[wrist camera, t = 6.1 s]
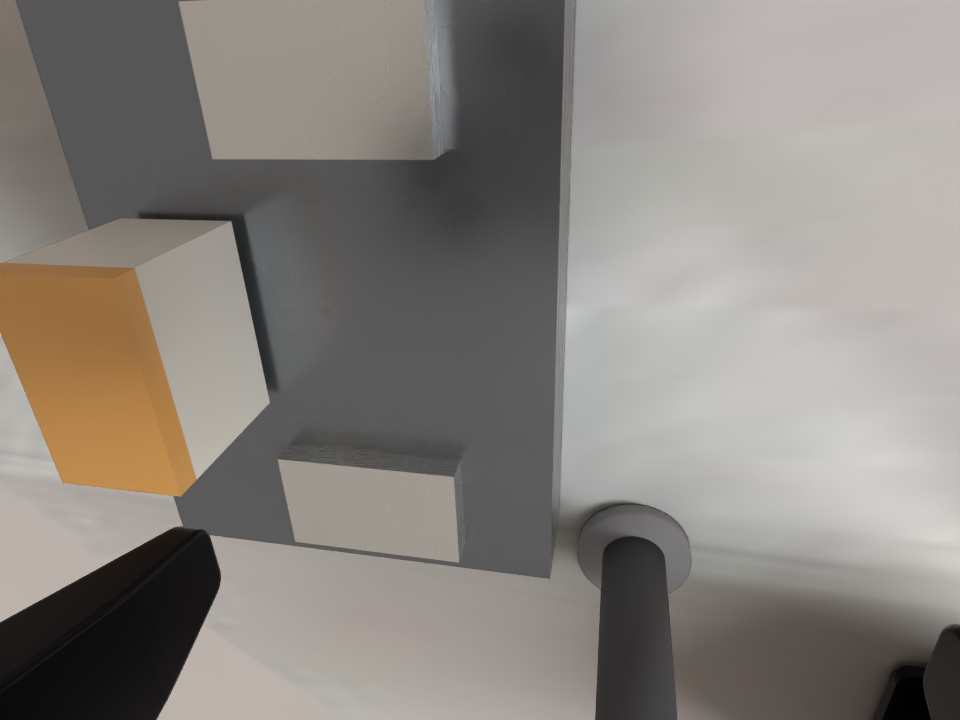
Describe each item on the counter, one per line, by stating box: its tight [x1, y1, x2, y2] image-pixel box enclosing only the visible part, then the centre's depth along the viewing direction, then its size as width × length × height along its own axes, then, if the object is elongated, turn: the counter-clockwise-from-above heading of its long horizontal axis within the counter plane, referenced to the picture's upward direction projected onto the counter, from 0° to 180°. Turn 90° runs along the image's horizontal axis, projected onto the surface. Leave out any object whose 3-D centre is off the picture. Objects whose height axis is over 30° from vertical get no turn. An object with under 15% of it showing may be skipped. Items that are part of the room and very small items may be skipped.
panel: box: [16, 0, 576, 579], centre depth 17 cm, size 16×12×4 cm
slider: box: [0, 218, 270, 497], centre depth 15 cm, size 5×3×4 cm, turn 2°
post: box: [578, 504, 691, 720], centre depth 17 cm, size 4×4×9 cm
